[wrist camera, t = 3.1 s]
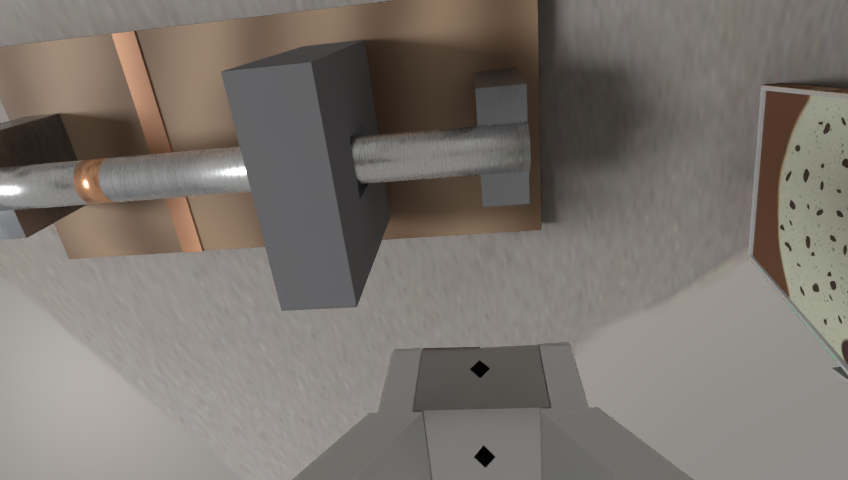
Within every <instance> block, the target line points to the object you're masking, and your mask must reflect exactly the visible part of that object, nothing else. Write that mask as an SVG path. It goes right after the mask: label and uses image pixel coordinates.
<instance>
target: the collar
mask: <svg viewBox="0 0 848 480" xmlns="http://www.w3.org/2000/svg"><path fill="white" fill-rule="evenodd" d="M221 75H222V79H223V83H224V87H225V91H226V95H227V98H228V102H229V106H230V110H231V114H232V118H233V122H234V126H235V130H236V134H237V138H238V142H239V145H240V149H241V153H242V157H243V161H244V165H245V169H246V173H247V177H248V181H249V185H250V189H251V192H252V196H253V200H254V204H255V208H256V212H257V216H258V220H259V224H260V228H261V232H262V236H263V239H264V243H265V247H266V251H267V255H268V259H269V263H270V267H271V271H272V275H273V279H274V283H275V286H276V290H277V294H278V298H279V302H280V306H281V310H282V311H284V310H306V309H327V308H349V307H357V305H358V302H359V299H360V297H361V294H362V291H363V289H364V286H365V283H366V281H367V278H368V276H369V273H370V270H371V268H372V265H373V262H374V260H375V257H376V254H377V252H378V249H379V246H380V244H381V241H382V238H383V236H384V233H385V230H386V228H387V225H388V222H389V220H390V211H389V204H388V197H387V190H386V183H385V182H380V183H367V184H357V179H356V173H355V167H354V161H353V155H352V149H351V143H350V137H357V136H368V135H378V128H377V121H376V114H375V107H374V100H373V93H372V86H371V79H370V72H369V65H368V58H367V51H366V44H365V40H356V41H347V42H338V43H328V44H319V45H310V46H302V47H299V48H296V49H293V50H289V51H286V52H283V53H280V54H276V55H273V56H270V57H267V58H264V59H260V60H257V61H254V62H251V63H247V64H244V65H241V66H238V67H234V68H231V69H228V70H225V71H221Z"/></svg>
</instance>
